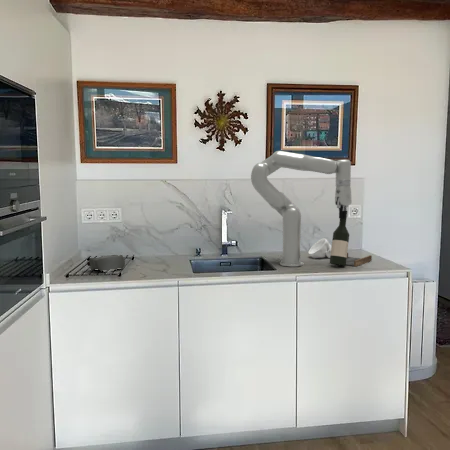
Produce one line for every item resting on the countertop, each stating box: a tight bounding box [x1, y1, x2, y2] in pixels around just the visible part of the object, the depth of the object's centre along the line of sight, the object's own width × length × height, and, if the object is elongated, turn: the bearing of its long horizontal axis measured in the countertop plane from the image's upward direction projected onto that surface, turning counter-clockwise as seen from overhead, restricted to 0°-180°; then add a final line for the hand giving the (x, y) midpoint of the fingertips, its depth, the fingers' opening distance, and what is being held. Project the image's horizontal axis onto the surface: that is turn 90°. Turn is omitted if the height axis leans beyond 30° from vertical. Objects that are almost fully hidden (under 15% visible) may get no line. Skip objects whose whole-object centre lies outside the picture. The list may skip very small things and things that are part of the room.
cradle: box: [346, 252, 373, 268], centre depth 245 cm, size 15×20×3 cm
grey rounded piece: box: [86, 254, 126, 272], centre depth 232 cm, size 18×11×8 cm, turn 133°
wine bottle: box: [328, 209, 350, 267], centre depth 235 cm, size 8×8×30 cm
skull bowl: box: [307, 237, 332, 259], centre depth 259 cm, size 10×14×12 cm
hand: (342, 218), depth 234 cm, fingers closed
